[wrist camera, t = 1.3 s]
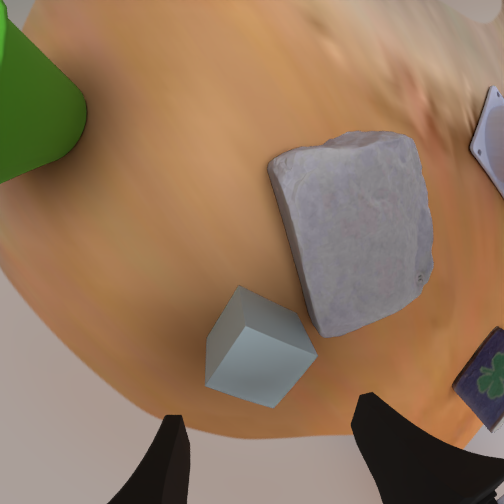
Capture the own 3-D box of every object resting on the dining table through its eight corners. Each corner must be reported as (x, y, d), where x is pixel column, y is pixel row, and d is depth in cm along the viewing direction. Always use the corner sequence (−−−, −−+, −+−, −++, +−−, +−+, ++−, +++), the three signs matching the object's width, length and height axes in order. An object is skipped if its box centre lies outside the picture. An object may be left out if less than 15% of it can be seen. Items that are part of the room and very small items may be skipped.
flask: (455, 390, 26) (502, 444, 16) (447, 385, 25) (497, 443, 15) (501, 330, 24) (557, 374, 14) (496, 321, 24) (556, 367, 13)
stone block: (374, 123, 18) (247, 160, 16) (424, 117, 14) (280, 156, 12) (400, 268, 22) (300, 326, 20) (443, 287, 18) (335, 362, 16)
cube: (296, 312, 20) (318, 355, 15) (262, 360, 21) (273, 408, 16) (238, 284, 19) (245, 325, 14) (206, 337, 20) (204, 385, 15)
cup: (74, 33, 12) (-20, -35, 2) (145, 118, 15) (43, 66, 4) (-8, 130, 13) (-119, 134, 3) (50, 219, 16) (-71, 281, 5)
